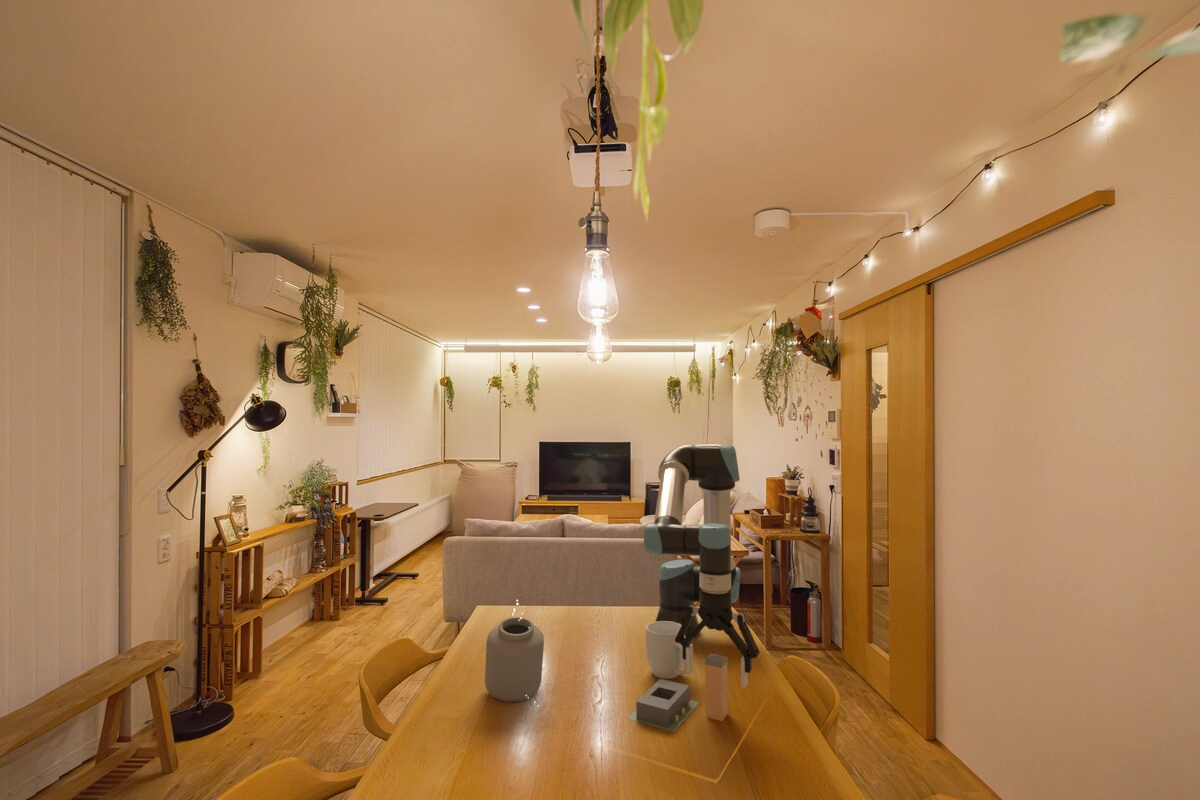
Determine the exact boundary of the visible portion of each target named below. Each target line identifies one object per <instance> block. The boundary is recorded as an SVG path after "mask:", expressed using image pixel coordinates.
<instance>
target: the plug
mask: <svg viewBox="0 0 1200 800" xmlns="http://www.w3.org/2000/svg"><path fill="white" fill-rule="evenodd" d="M704 665H705V667H704V668H705V671H704V672H705V676H704V677H705V679H704V680H705V718H708V719H712V720H716V721H719V722H723V721H724V719H725V718H727V715H728V714H729V713H728V711H729V710H728V709H729V708H728V707H729V706H728V699H729V697H728V656H725V655H721V654H716V653H712V652H711V653H710V654H709V655H708V656H707V657H705V658H704Z"/></svg>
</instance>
